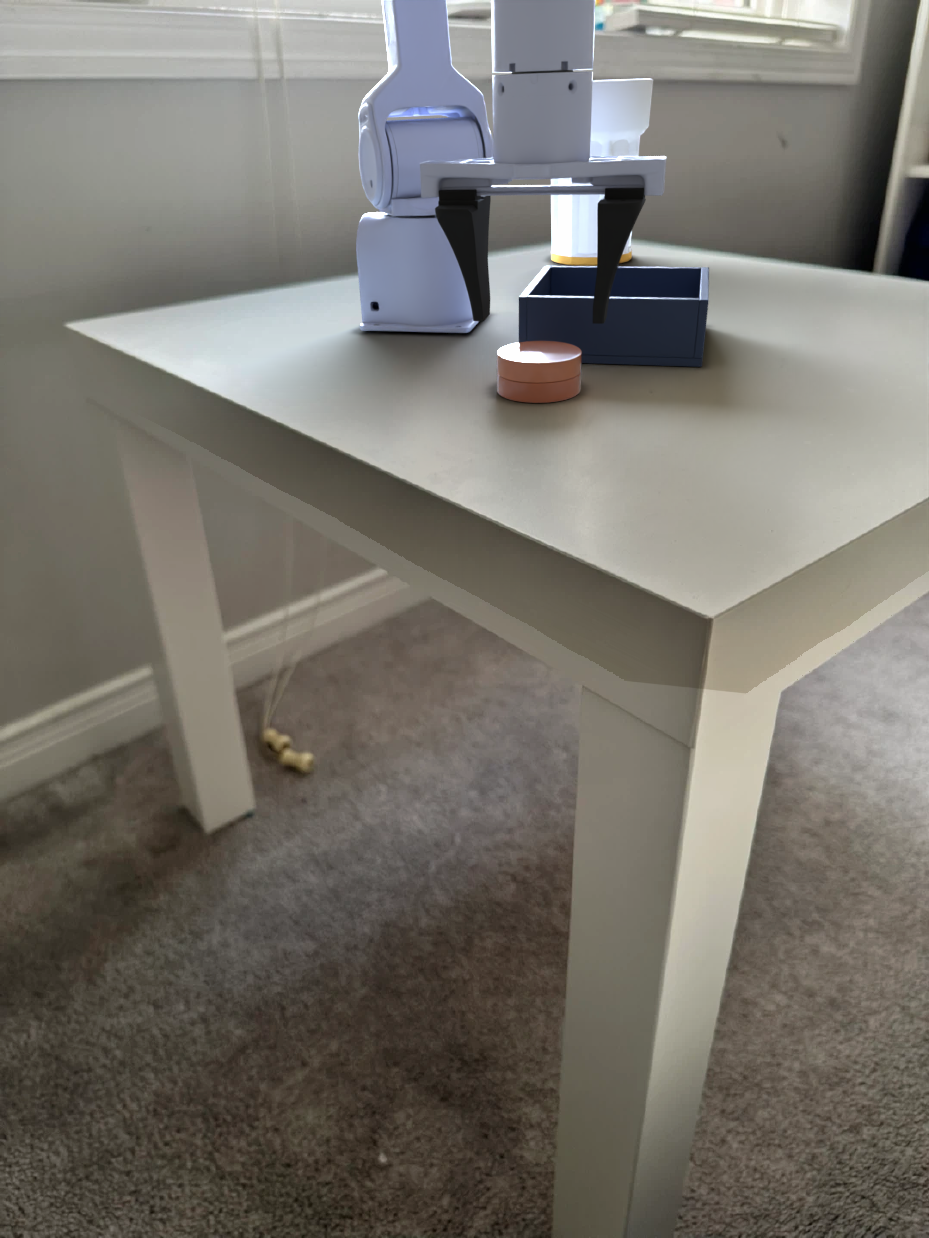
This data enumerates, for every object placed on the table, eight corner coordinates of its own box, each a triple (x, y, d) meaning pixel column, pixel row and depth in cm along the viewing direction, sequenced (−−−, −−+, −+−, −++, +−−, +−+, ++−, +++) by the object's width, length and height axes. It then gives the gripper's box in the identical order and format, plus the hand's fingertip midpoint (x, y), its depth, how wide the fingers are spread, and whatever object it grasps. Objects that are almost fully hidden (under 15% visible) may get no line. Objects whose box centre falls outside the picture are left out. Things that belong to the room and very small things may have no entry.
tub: (518, 361, 67) (518, 296, 65) (543, 322, 77) (544, 265, 75) (701, 367, 65) (708, 300, 62) (703, 326, 75) (709, 267, 72)
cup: (644, 250, 107) (656, 78, 98) (638, 268, 97) (650, 79, 88) (548, 250, 109) (551, 81, 100) (533, 267, 100) (535, 83, 91)
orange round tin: (489, 401, 59) (488, 361, 58) (505, 377, 64) (505, 339, 63) (575, 405, 58) (576, 364, 57) (585, 380, 63) (586, 341, 61)
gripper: (399, 78, 50) (414, 331, 57) (669, 68, 47) (650, 336, 54) (432, 77, 56) (442, 306, 63) (674, 68, 53) (656, 310, 60)
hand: (539, 319), depth 59 cm, fingers open, 7 cm apart
